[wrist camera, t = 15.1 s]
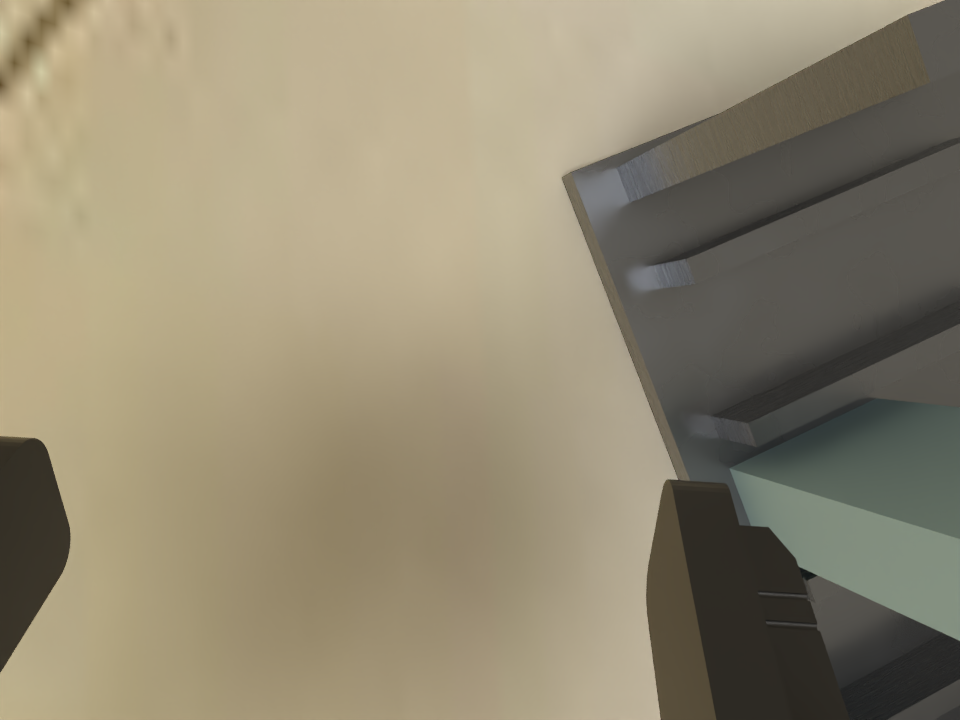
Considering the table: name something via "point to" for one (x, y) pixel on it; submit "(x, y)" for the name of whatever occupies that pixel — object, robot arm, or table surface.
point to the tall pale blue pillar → (870, 505)
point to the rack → (801, 292)
